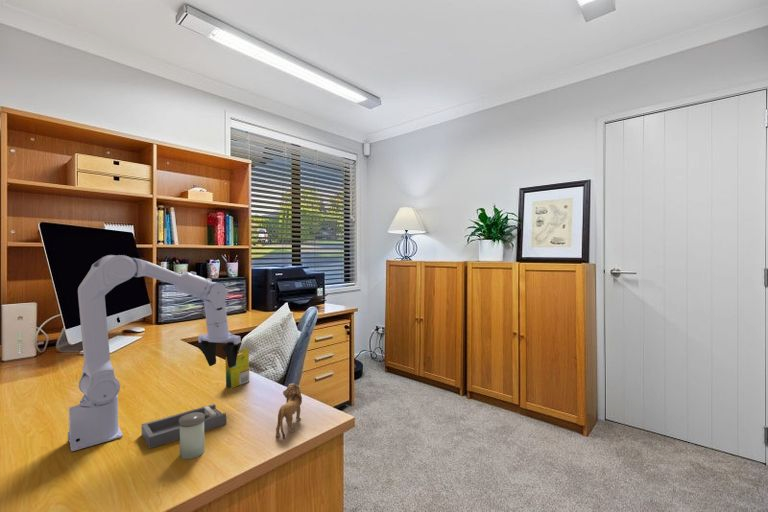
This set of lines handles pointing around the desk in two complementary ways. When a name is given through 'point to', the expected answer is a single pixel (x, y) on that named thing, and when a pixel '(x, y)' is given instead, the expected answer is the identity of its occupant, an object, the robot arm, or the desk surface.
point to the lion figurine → (289, 408)
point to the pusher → (209, 412)
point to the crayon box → (238, 370)
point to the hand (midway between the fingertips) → (222, 365)
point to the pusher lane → (176, 427)
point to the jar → (192, 435)
